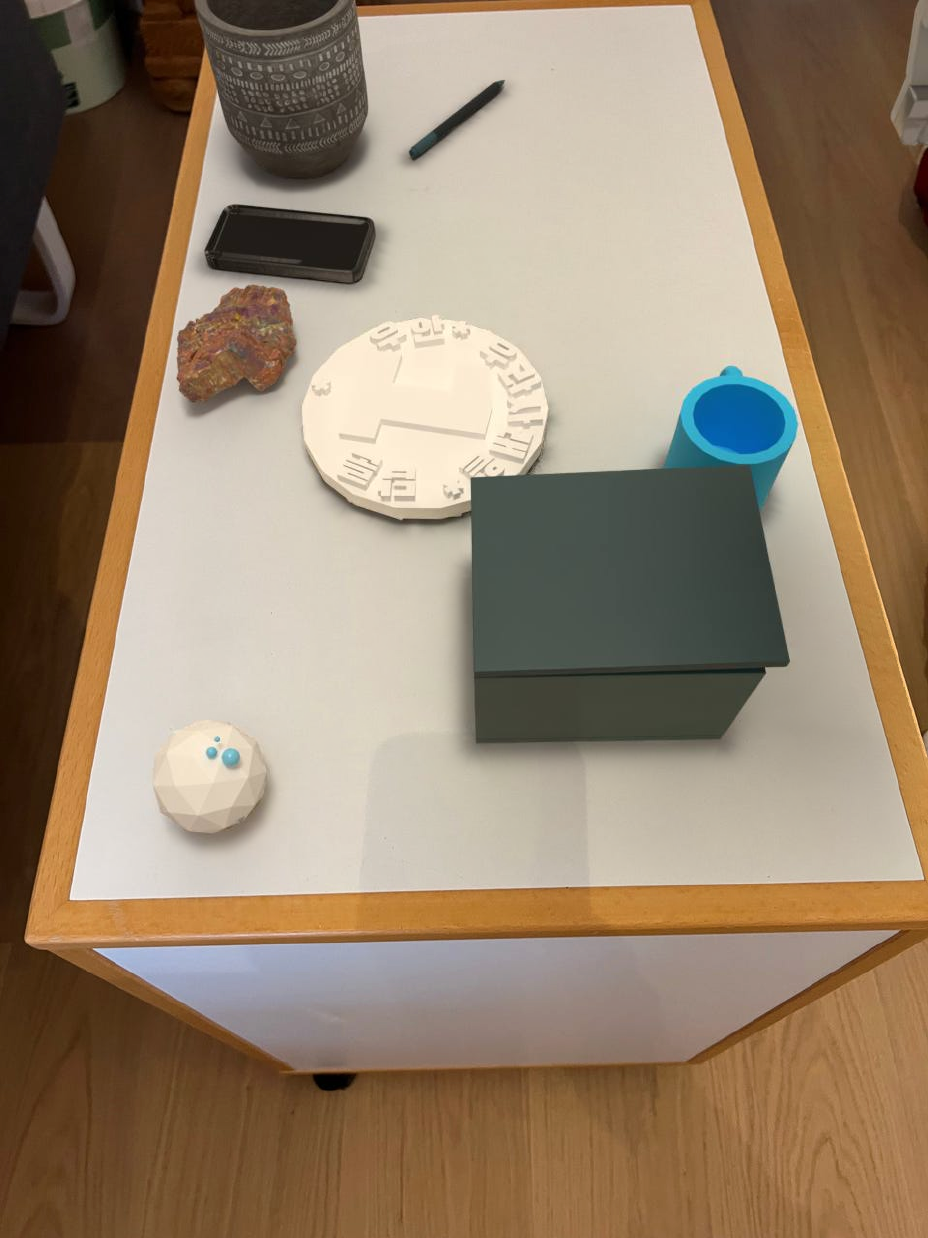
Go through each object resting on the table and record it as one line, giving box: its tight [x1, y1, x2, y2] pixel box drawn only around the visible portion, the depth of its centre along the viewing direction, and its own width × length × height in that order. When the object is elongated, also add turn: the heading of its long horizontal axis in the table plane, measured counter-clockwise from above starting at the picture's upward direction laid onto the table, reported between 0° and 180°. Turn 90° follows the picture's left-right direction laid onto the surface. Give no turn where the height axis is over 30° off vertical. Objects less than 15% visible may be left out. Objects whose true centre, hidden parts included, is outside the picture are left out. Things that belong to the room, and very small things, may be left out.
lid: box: [470, 465, 791, 678], centre depth 52 cm, size 18×14×1 cm
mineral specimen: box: [175, 284, 297, 404], centre depth 73 cm, size 12×8×7 cm
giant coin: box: [301, 314, 549, 522], centre depth 71 cm, size 20×20×3 cm
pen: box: [408, 79, 506, 159], centre depth 91 cm, size 1×16×1 cm, turn 142°
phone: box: [203, 203, 376, 284], centre depth 82 cm, size 8×1×15 cm
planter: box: [193, 0, 369, 181], centre depth 83 cm, size 14×14×15 cm
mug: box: [663, 365, 799, 512], centre depth 66 cm, size 12×8×8 cm
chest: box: [473, 668, 767, 744], centre depth 57 cm, size 17×14×11 cm
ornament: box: [152, 718, 268, 834], centre depth 54 cm, size 7×7×8 cm
